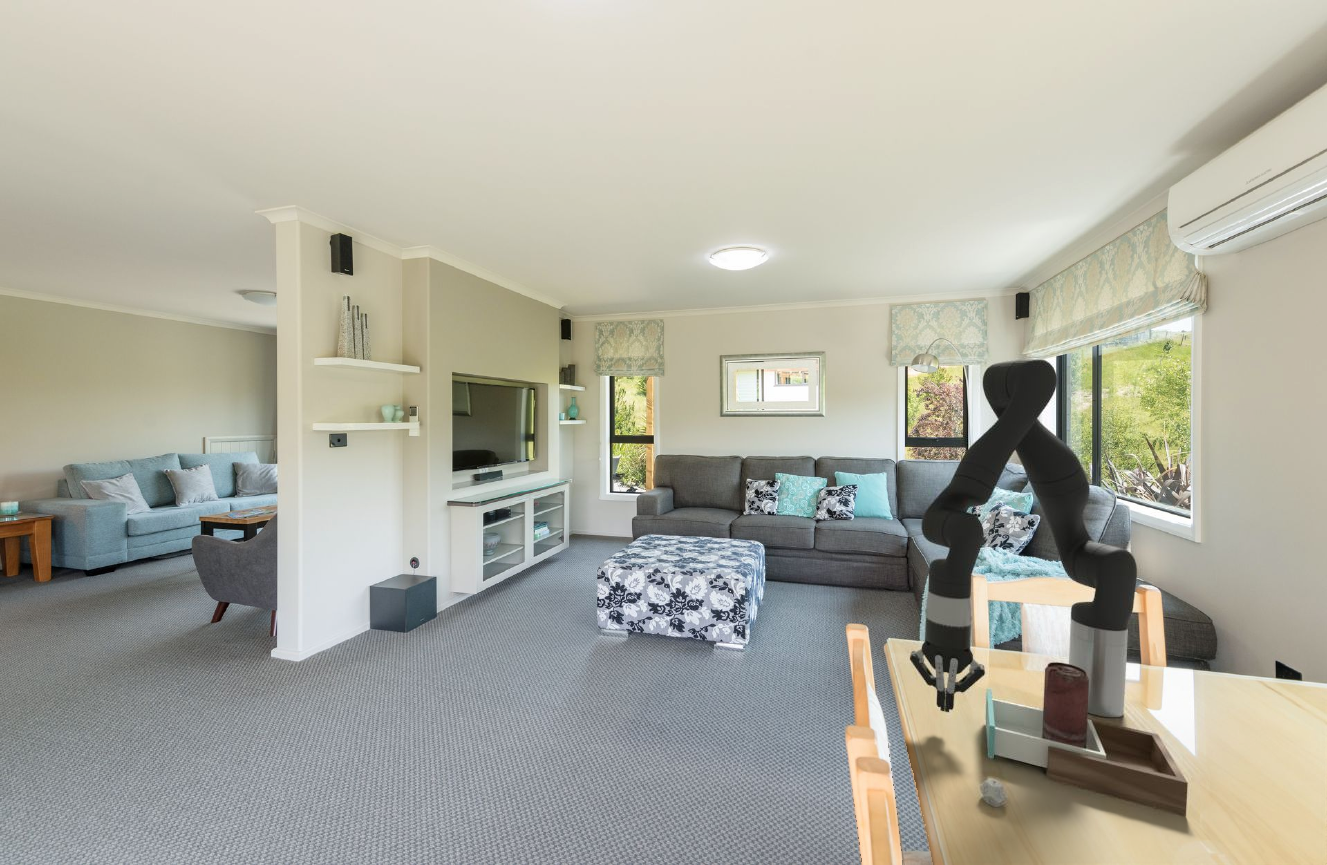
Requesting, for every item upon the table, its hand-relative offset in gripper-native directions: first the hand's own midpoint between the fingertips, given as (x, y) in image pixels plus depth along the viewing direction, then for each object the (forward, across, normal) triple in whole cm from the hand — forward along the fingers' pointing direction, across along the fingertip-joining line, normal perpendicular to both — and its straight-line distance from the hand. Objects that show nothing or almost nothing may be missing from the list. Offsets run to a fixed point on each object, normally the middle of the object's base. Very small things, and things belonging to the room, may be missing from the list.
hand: (944, 709), depth 106 cm
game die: (+4, -7, +18) cm, 20 cm away
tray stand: (+4, -24, 0) cm, 24 cm away
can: (+2, -18, 0) cm, 18 cm away
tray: (+3, -15, 0) cm, 15 cm away
